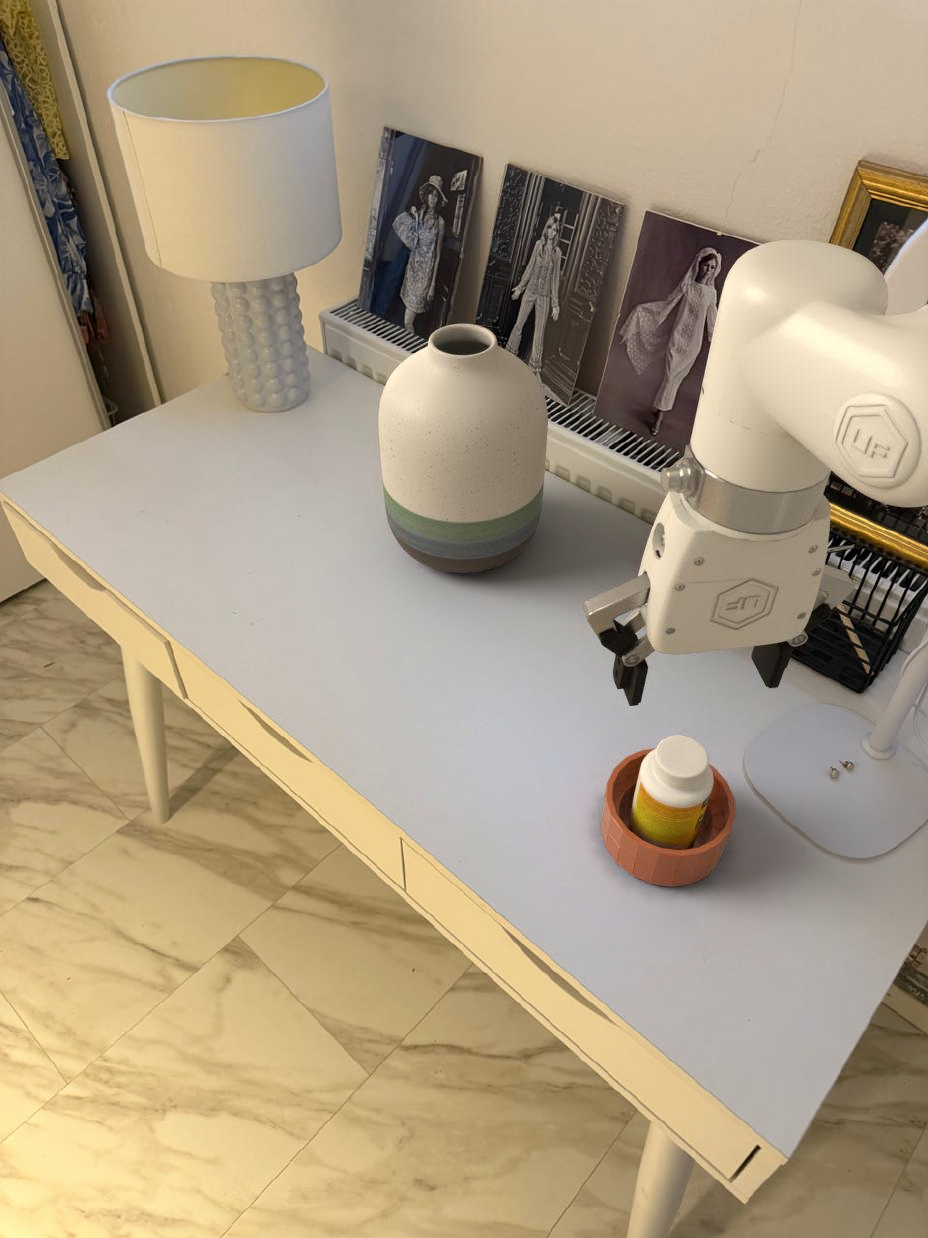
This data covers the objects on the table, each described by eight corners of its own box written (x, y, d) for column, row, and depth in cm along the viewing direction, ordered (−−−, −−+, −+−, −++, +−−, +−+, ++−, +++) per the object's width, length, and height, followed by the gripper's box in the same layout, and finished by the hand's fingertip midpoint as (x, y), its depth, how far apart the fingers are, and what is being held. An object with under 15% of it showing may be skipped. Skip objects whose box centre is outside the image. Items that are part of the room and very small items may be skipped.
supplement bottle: (697, 865, 74) (721, 791, 67) (626, 856, 75) (643, 781, 68) (695, 806, 78) (718, 730, 71) (628, 798, 79) (644, 722, 71)
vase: (551, 584, 98) (568, 381, 81) (390, 595, 97) (374, 392, 80) (527, 487, 110) (538, 293, 93) (384, 496, 109) (369, 301, 92)
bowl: (741, 879, 74) (755, 845, 70) (619, 897, 73) (626, 864, 69) (698, 776, 81) (709, 740, 77) (586, 791, 80) (592, 756, 76)
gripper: (620, 538, 48) (587, 741, 60) (932, 505, 50) (839, 708, 62) (583, 453, 53) (560, 656, 65) (867, 426, 55) (793, 628, 67)
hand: (696, 681), depth 64 cm, fingers open, 9 cm apart
